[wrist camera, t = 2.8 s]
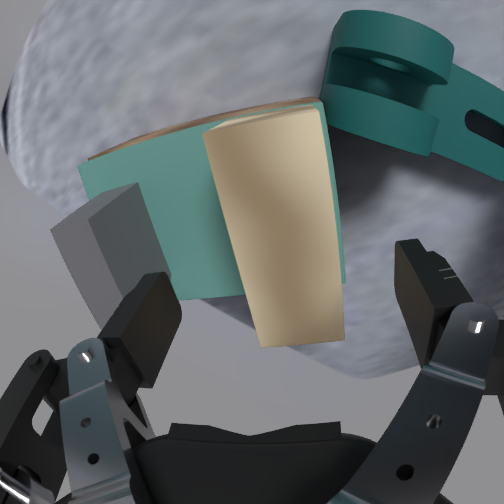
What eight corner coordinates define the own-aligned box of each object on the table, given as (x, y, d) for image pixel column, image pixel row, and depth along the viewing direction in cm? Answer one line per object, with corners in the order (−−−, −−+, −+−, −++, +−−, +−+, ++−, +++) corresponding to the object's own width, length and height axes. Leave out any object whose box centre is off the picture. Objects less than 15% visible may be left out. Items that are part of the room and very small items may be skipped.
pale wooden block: (312, 104, 13) (318, 111, 9) (337, 284, 18) (344, 340, 14) (228, 119, 14) (201, 133, 10) (269, 292, 19) (261, 347, 15)
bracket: (316, 114, 21) (326, 127, 14) (333, 27, 17) (351, -1, 10) (508, 183, 20) (561, 221, 13) (527, 113, 17) (587, 134, 10)
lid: (319, 100, 15) (335, 109, 9) (342, 263, 20) (356, 346, 13) (96, 156, 18) (21, 197, 12) (145, 285, 23) (101, 354, 17)
